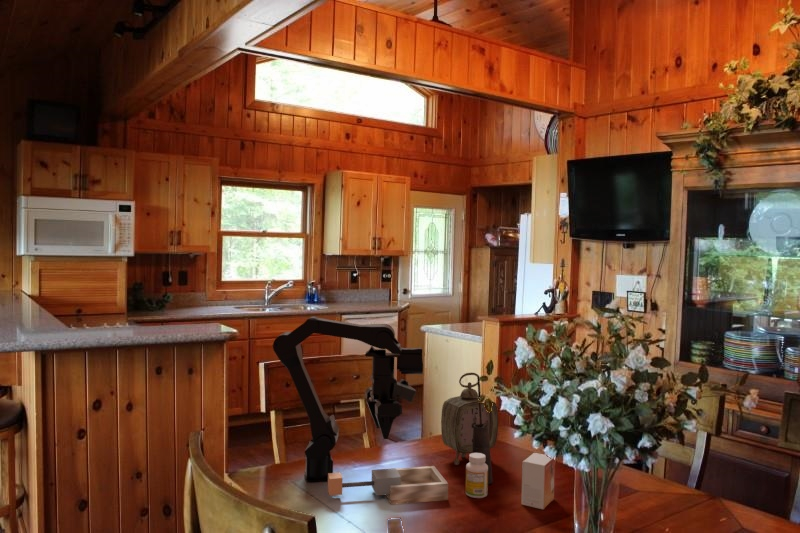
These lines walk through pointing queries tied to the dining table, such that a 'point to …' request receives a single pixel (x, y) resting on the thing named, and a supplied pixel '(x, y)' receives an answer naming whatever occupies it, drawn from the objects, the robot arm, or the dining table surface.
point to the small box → (537, 481)
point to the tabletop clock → (466, 420)
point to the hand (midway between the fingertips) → (382, 433)
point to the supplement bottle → (477, 476)
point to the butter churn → (482, 439)
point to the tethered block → (379, 482)
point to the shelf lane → (419, 486)
